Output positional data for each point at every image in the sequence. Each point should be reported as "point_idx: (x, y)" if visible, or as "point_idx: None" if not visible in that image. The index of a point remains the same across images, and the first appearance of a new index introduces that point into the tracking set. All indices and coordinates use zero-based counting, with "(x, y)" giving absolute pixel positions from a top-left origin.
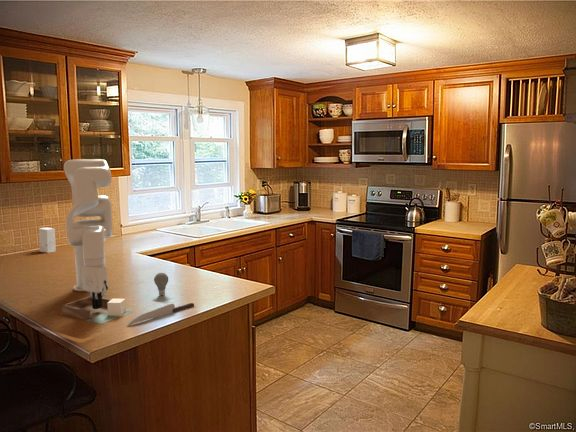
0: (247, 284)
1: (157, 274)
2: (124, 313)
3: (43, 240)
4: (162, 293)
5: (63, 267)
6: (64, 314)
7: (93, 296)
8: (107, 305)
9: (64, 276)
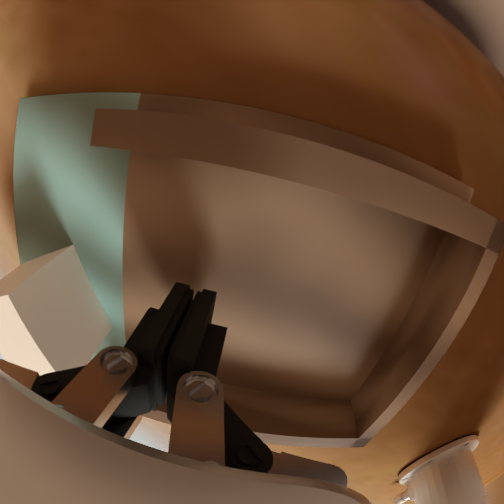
0: None
1: None
2: None
3: None
4: None
5: (498, 460)
6: (437, 172)
7: (177, 397)
8: (24, 281)
9: (497, 449)
